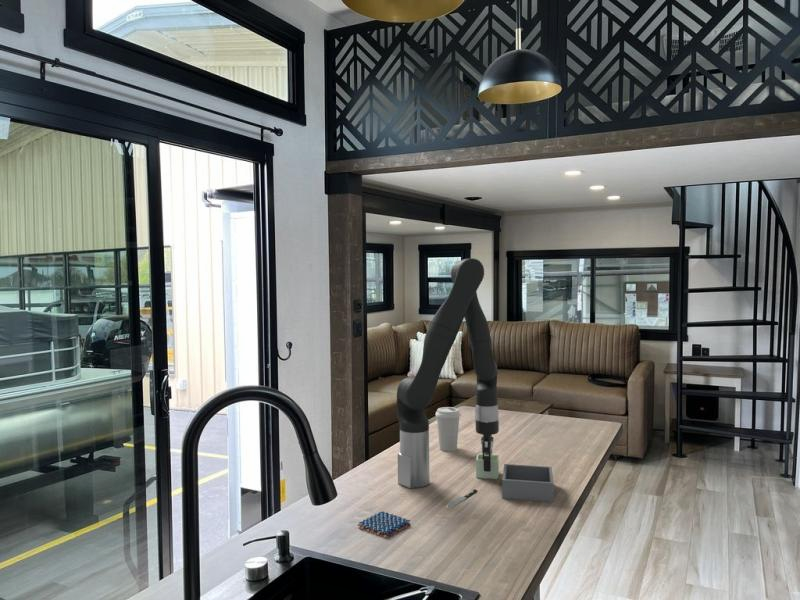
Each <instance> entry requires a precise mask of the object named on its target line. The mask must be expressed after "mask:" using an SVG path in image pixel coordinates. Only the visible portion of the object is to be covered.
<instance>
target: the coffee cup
mask: <svg viewBox="0 0 800 600" xmlns="http://www.w3.org/2000/svg"><path fill="white" fill-rule="evenodd" d="M461 415H462V414H461V412H460V410H459V408H457V407H453V406H451V407H450V406H444V407H438V408H437V410H436V411H435V416H436V422H437V434H438V435H437V436H438V445H439V450H440V449H441V450H440V451H442V450H444V451H443V452H454V451H453V450H455V451H456V449H458V437H459V436H458V435H459V425H460V417H461Z"/></svg>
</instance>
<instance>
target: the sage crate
mask: <svg viewBox="0 0 800 600" xmlns="http://www.w3.org/2000/svg"><path fill="white" fill-rule="evenodd" d="M485 456H489V455H485ZM482 457H483V453H482V454H481V453H479V454H476V458H475V459H476V460H475V478H476V479H487V478H492V479H491V480H499V474H500V473H499V472H500V466H499V465H500V461H499V460H500V455H499V454H498V455H497V454H492V455H491V471H490V472H486V471H484V460H483V459H482Z"/></svg>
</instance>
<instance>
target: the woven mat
mask: <svg viewBox="0 0 800 600" xmlns="http://www.w3.org/2000/svg"><path fill="white" fill-rule="evenodd" d="M410 521H411V520H410V519H407V518H406V517H405V518H403V517H402V516H398V515H395V514H394V513H389V512H386V511H379V512H378V513H375V514H374V515H371V516H370V517H367V518H366V519H363V520H362V521H358V524H357V526H358V529H360V530H363V531H364V532H366V531H367V532H368V533H369V532H370V533H371V534H374V535H377V536H379V537H380V538H382V537H383V538H384V539H385V538H386V539H387V538H389V537H391V536H392V535H394V534H395V533H398V532H399V531H401V530H403V529H405V528H406V527H408V526H410V525H411V523H410Z"/></svg>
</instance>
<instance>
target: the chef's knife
mask: <svg viewBox="0 0 800 600" xmlns="http://www.w3.org/2000/svg"><path fill="white" fill-rule="evenodd" d="M477 492H478V489H475V488H474V489H473V490H472V491H470V492H469V493H468V494H465V495H464V496H457V497H456V498H454V499H455V500H454V499H453V500H452V501H450V502H449V503H448V504H447V505H446V508H445V509H448V511H449V510H450V509H452V508H454V507H456V506H457V505H458V503H459V504H461V502H464V501H466V500H467V499H468V498H470V497H472V496H473V495H475V494H476V493H477ZM463 500H464V501H463ZM455 505H456V506H455ZM447 506H448V507H447Z"/></svg>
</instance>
